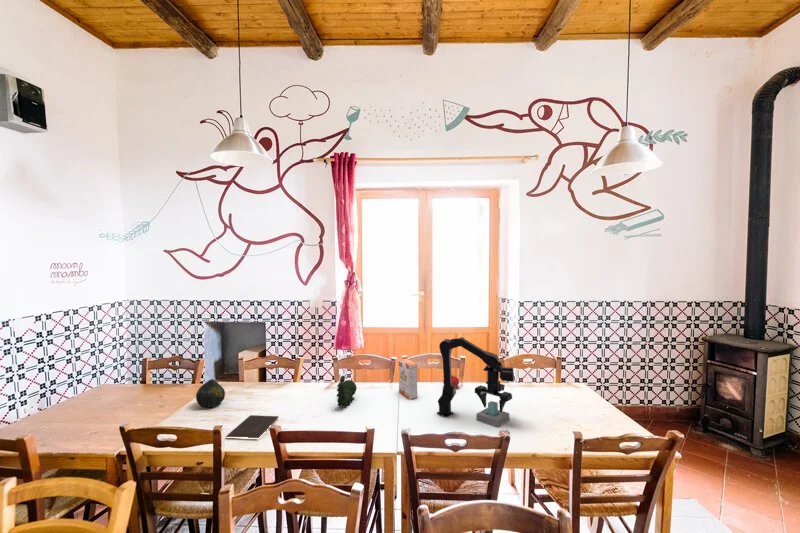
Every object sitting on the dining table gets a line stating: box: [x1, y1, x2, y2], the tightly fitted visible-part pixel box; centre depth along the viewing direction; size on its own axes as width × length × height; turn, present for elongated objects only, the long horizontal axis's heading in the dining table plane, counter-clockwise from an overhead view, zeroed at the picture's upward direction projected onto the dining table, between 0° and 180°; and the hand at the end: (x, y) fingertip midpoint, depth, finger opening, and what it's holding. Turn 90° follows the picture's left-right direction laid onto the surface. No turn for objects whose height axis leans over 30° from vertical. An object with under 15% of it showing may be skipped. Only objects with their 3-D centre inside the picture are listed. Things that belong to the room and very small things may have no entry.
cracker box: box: [398, 357, 418, 400], centre depth 239 cm, size 14×6×21 cm, turn 25°
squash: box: [195, 378, 226, 408], centre depth 226 cm, size 14×15×15 cm
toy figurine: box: [336, 375, 358, 407], centre depth 229 cm, size 9×19×25 cm
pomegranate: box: [442, 374, 460, 389], centre depth 253 cm, size 10×10×9 cm
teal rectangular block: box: [487, 400, 499, 416], centre depth 203 cm, size 4×4×8 cm
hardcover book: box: [225, 414, 280, 438], centre depth 196 cm, size 16×23×2 cm
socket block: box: [475, 407, 510, 428], centre depth 204 cm, size 12×12×4 cm
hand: (493, 409), depth 203 cm, fingers open, 9 cm apart
